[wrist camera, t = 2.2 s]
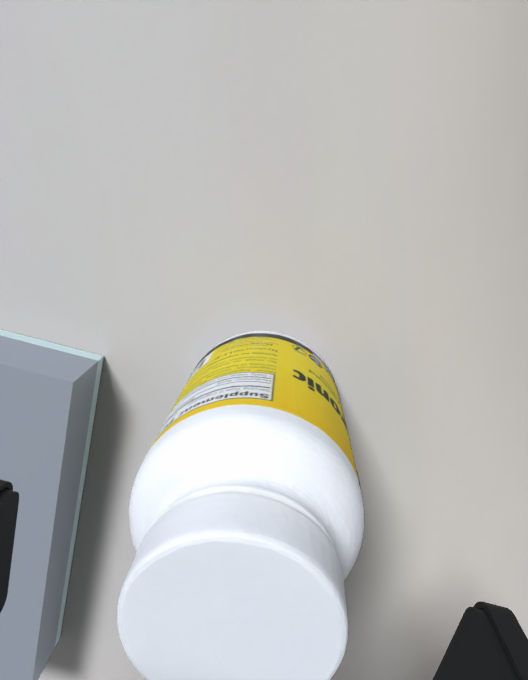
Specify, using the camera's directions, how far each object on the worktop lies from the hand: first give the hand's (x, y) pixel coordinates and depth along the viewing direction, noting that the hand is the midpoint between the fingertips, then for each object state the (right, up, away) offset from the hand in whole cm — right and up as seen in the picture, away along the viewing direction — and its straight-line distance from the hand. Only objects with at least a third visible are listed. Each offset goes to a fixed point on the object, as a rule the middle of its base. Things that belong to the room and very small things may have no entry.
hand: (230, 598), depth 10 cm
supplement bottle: (+1, +3, +8) cm, 9 cm away
